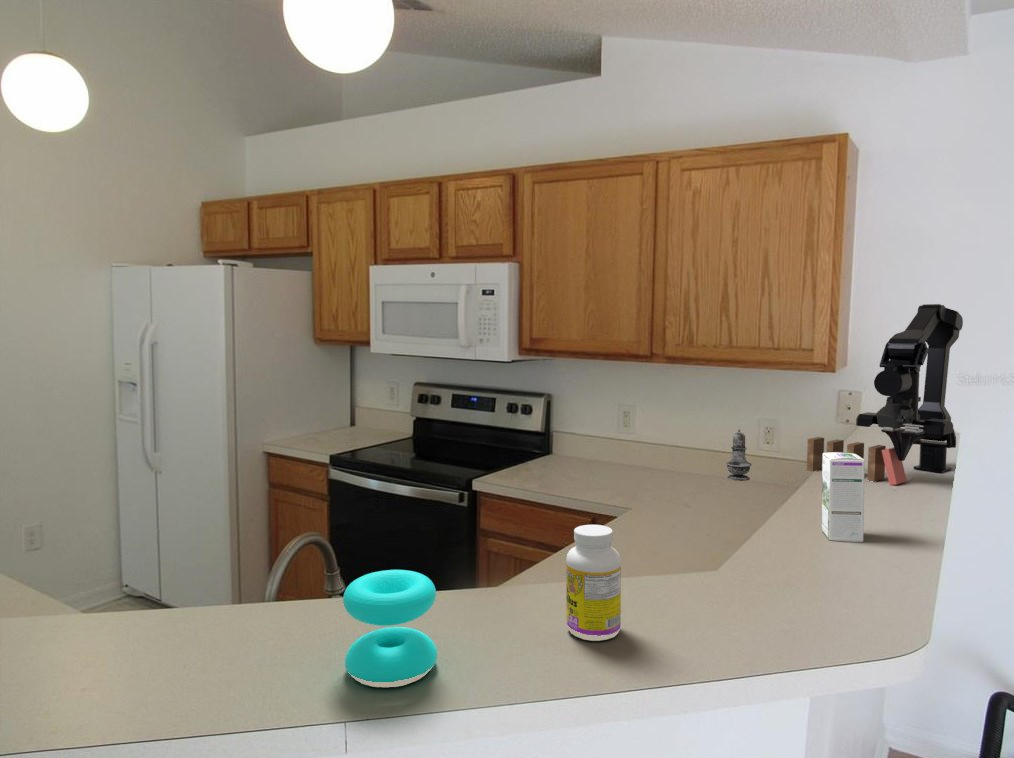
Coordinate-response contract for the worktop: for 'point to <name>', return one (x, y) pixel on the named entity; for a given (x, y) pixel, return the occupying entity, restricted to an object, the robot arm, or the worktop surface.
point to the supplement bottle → (593, 582)
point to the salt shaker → (738, 459)
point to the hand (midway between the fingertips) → (901, 460)
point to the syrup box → (843, 496)
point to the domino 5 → (893, 467)
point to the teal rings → (390, 604)
